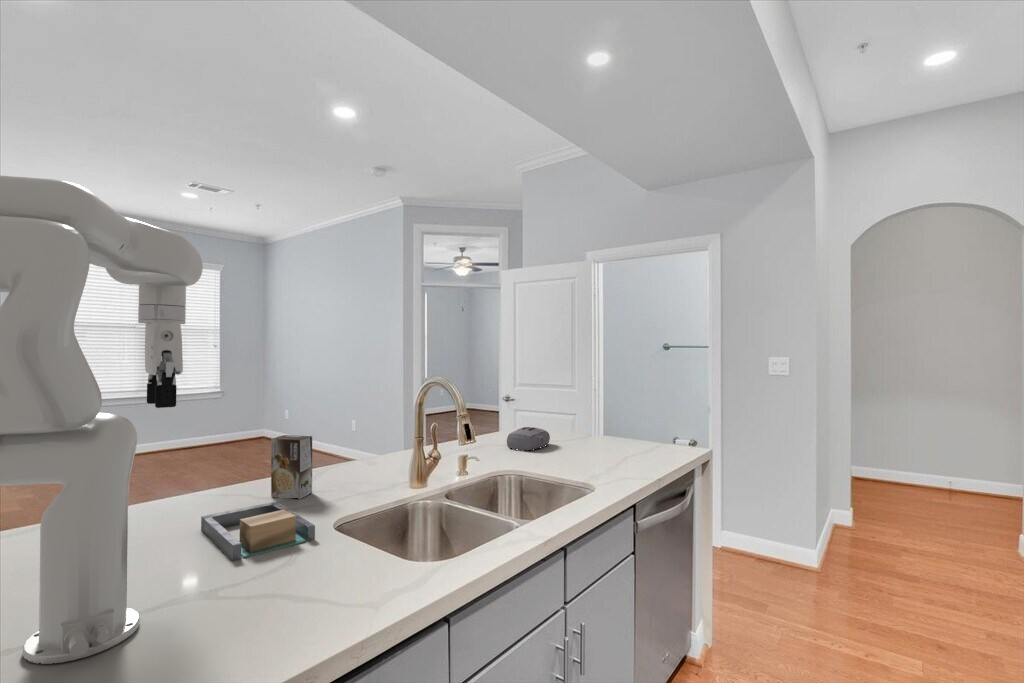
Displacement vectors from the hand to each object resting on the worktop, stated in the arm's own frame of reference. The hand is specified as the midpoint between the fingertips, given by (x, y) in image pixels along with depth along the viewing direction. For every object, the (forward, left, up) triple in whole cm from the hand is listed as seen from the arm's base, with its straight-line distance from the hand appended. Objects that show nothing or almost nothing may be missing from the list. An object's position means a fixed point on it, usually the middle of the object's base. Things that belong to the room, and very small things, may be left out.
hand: (161, 405), depth 99 cm
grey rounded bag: (+30, -133, -30) cm, 140 cm away
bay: (+1, -18, -30) cm, 35 cm away
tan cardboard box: (-5, -18, -29) cm, 35 cm away
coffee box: (+26, -35, -30) cm, 53 cm away
